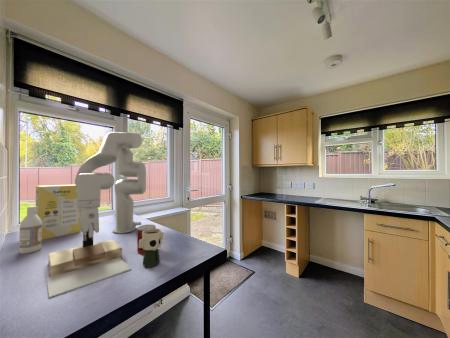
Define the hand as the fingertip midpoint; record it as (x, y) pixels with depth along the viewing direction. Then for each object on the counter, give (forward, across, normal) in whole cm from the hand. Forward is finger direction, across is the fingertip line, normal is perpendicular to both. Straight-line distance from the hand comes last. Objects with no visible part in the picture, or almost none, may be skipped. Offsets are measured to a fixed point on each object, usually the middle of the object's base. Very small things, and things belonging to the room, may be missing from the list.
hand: (87, 249), depth 74 cm
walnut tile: (+1, -5, 0) cm, 5 cm away
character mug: (+5, -20, -17) cm, 26 cm away
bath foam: (+5, +31, +16) cm, 36 cm away
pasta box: (+5, +53, +5) cm, 54 cm away
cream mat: (+5, -12, +1) cm, 13 cm away
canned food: (+5, -6, -21) cm, 22 cm away
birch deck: (+5, +2, 0) cm, 5 cm away
